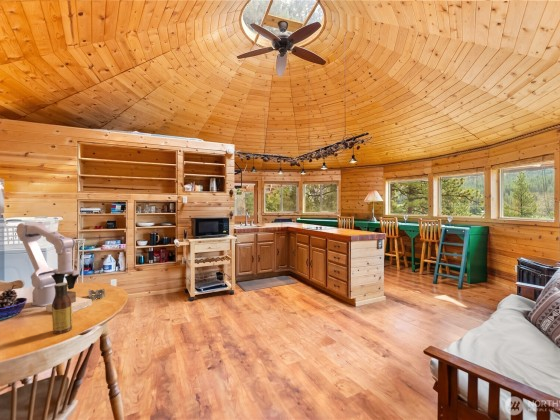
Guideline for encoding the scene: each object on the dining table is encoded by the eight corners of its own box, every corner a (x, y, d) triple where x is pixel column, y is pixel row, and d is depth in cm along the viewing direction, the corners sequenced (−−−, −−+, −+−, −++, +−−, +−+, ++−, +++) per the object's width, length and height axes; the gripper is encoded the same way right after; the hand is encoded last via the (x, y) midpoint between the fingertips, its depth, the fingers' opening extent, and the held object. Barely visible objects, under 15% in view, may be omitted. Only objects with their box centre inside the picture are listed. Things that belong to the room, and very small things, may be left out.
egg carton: (88, 296, 148) (88, 289, 148) (104, 293, 152) (104, 286, 152) (88, 301, 139) (88, 294, 139) (105, 298, 144) (105, 291, 144)
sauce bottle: (60, 327, 110) (59, 281, 110) (76, 327, 111) (75, 280, 110) (48, 335, 104) (47, 286, 103) (64, 334, 104) (63, 285, 104)
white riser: (46, 311, 127) (45, 305, 127) (71, 302, 138) (71, 296, 138) (67, 314, 123) (66, 308, 123) (91, 305, 134) (91, 299, 134)
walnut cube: (57, 304, 128) (57, 294, 128) (68, 300, 132) (68, 290, 132) (65, 305, 126) (64, 295, 126) (75, 301, 131) (75, 291, 131)
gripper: (45, 262, 130) (46, 289, 131) (67, 264, 126) (67, 292, 126) (61, 259, 137) (61, 284, 137) (81, 261, 133) (82, 287, 133)
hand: (65, 288), depth 132 cm, fingers open, 7 cm apart
